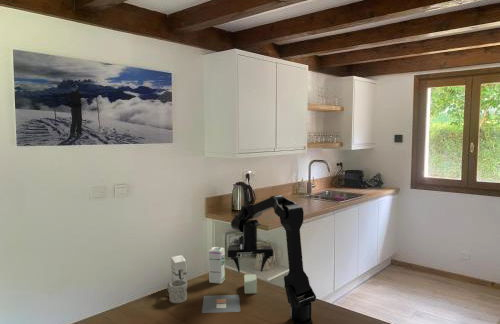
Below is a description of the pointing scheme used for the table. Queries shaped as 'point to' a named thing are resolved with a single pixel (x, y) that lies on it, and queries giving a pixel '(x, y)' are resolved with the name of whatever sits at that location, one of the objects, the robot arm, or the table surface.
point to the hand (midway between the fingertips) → (250, 271)
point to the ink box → (179, 268)
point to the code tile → (221, 304)
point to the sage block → (250, 283)
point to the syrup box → (216, 265)
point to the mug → (177, 291)
